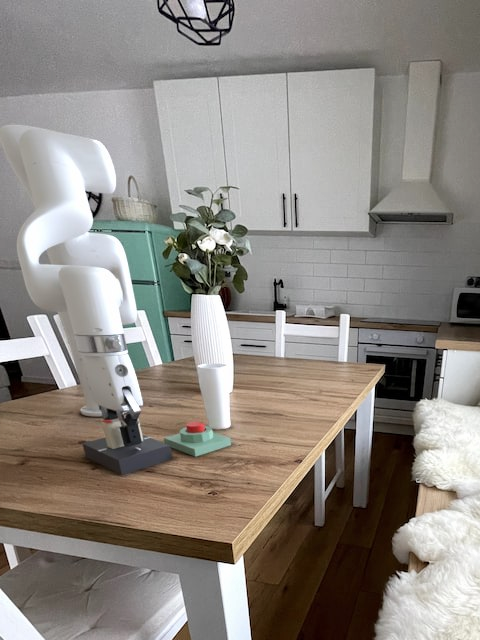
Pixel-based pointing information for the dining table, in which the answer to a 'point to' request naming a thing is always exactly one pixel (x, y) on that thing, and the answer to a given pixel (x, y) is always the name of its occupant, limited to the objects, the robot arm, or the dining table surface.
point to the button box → (197, 441)
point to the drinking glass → (215, 394)
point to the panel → (128, 454)
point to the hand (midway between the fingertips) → (125, 440)
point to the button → (195, 427)
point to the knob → (114, 433)
